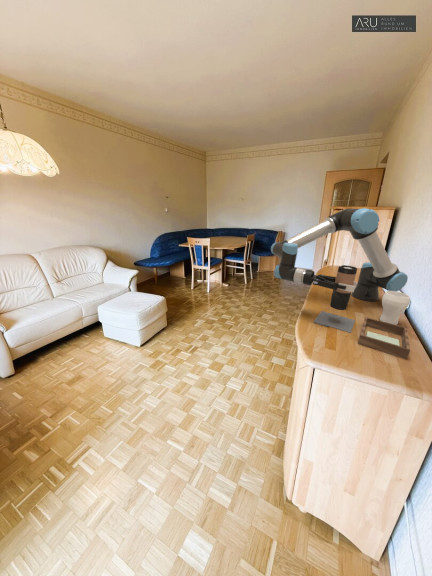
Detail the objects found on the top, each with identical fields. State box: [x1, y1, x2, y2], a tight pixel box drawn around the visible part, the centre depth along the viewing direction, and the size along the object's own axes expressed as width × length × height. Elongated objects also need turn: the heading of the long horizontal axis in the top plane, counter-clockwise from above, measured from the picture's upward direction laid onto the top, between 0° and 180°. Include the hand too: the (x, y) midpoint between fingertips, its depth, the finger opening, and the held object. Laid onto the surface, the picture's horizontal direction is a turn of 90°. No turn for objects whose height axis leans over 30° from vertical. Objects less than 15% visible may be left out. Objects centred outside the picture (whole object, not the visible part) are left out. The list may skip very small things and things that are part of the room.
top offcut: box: [365, 331, 400, 346], centre depth 93 cm, size 8×11×1 cm
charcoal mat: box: [313, 310, 356, 334], centre depth 112 cm, size 16×16×1 cm
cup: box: [379, 290, 411, 325], centre depth 113 cm, size 11×11×15 cm
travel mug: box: [329, 264, 358, 311], centre depth 106 cm, size 8×8×20 cm
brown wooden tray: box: [357, 316, 411, 360], centre depth 97 cm, size 22×16×4 cm
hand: (355, 287), depth 103 cm, fingers closed on travel mug, 7 cm apart
